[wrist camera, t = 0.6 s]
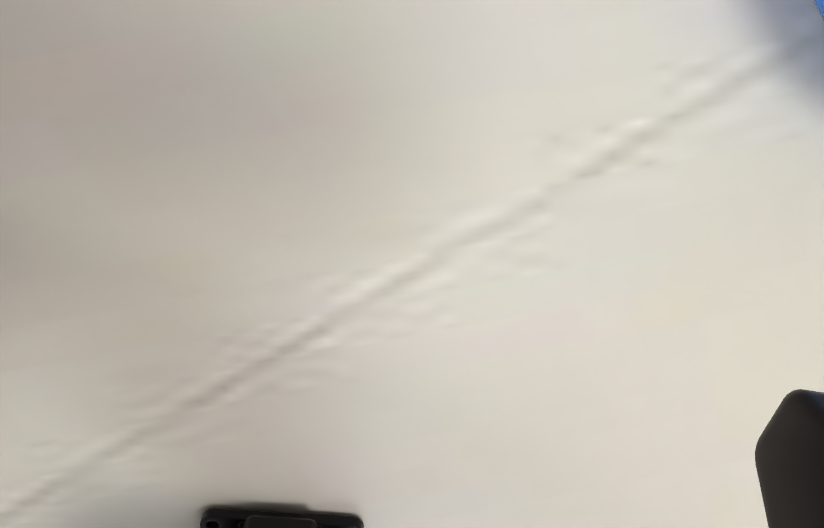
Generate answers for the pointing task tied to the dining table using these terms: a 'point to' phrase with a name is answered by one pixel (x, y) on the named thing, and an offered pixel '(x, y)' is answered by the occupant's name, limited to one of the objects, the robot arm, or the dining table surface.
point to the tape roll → (820, 6)
